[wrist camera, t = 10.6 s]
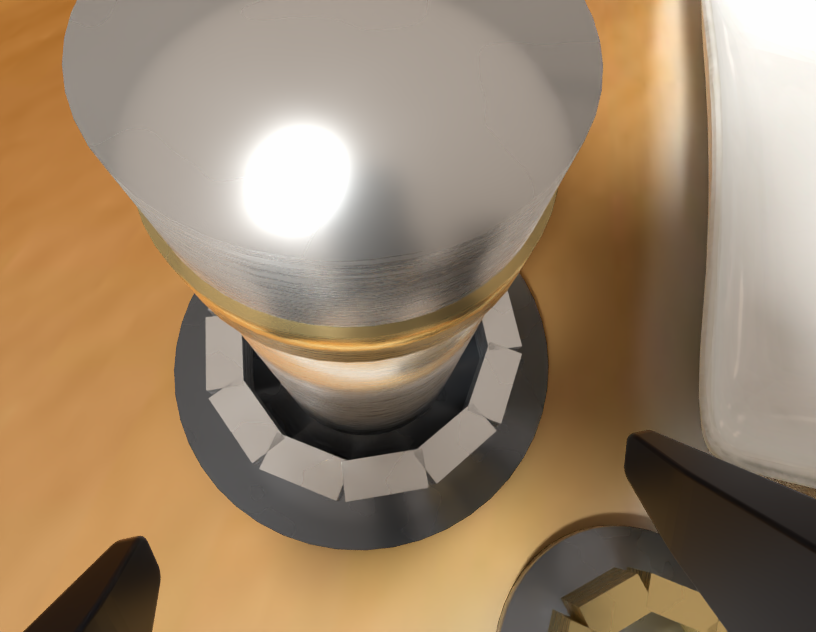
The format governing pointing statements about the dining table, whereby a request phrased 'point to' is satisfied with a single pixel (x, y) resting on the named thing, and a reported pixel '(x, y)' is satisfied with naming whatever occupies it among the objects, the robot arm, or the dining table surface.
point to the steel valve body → (340, 169)
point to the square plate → (760, 238)
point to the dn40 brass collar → (606, 587)
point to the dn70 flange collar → (356, 454)
